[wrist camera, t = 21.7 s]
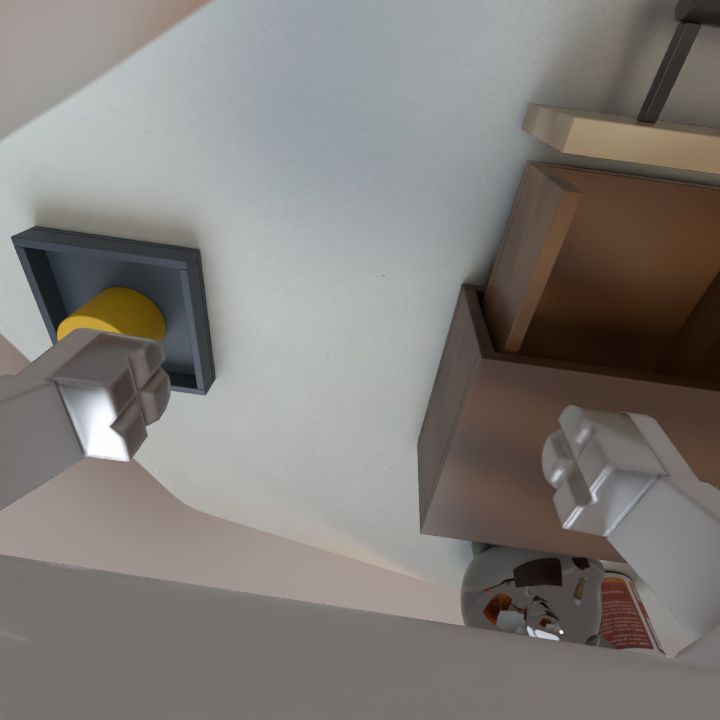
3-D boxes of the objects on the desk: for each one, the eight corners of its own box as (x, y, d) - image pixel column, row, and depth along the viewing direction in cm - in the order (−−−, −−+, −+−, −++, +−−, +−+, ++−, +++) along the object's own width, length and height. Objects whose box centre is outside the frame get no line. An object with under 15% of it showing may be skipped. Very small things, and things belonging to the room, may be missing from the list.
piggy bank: (612, 534, 41) (672, 670, 32) (495, 584, 49) (517, 706, 40) (540, 484, 38) (584, 619, 29) (426, 546, 46) (432, 669, 36)
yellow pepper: (86, 281, 29) (33, 318, 25) (159, 291, 29) (118, 330, 25) (105, 342, 32) (60, 384, 28) (171, 351, 32) (136, 395, 28)
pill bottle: (561, 588, 48) (597, 708, 39) (599, 564, 45) (647, 690, 36) (605, 602, 49) (649, 722, 40) (645, 580, 46) (704, 706, 37)
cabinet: (462, 283, 27) (481, 358, 20) (696, 315, 27) (797, 402, 20) (416, 444, 36) (419, 533, 29) (592, 469, 36) (637, 565, 29)
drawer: (567, -25, 18) (641, -66, 12) (901, 20, 18) (1128, -1, 12) (456, 343, 29) (469, 409, 23) (660, 372, 29) (721, 445, 23)
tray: (34, 226, 28) (9, 236, 26) (199, 249, 27) (186, 261, 26) (82, 360, 34) (65, 376, 32) (215, 379, 34) (205, 396, 32)
